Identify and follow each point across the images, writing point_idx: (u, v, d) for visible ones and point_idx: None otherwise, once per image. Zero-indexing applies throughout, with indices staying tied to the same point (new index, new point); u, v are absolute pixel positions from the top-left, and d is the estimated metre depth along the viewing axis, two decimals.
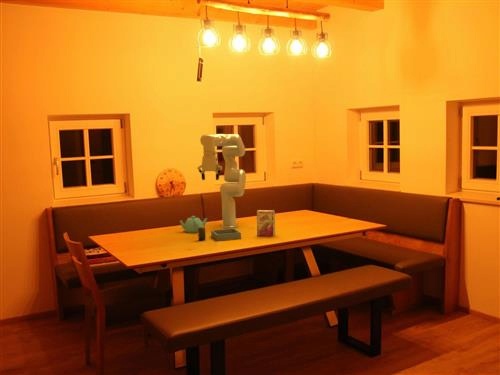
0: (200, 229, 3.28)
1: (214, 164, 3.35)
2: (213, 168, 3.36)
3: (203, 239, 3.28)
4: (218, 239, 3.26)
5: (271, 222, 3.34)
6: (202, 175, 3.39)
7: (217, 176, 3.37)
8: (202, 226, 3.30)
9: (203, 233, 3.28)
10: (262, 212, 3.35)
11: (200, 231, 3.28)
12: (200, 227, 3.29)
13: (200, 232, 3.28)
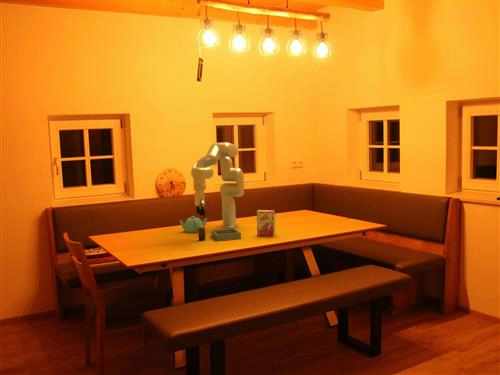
0: (200, 229, 3.28)
1: None
2: None
3: (203, 239, 3.28)
4: (218, 239, 3.26)
5: (271, 222, 3.34)
6: (204, 210, 3.24)
7: None
8: (202, 226, 3.30)
9: (203, 233, 3.28)
10: (262, 212, 3.35)
11: (200, 231, 3.28)
12: (200, 227, 3.29)
13: (200, 232, 3.28)
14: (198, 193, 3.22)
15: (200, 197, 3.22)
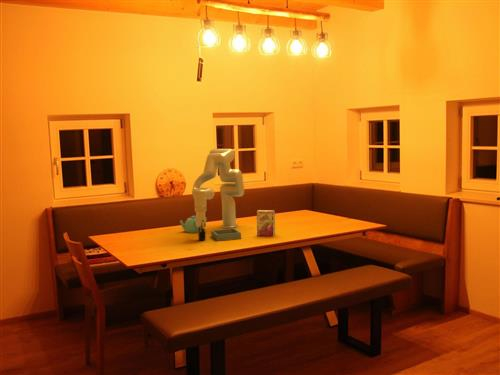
0: None
1: None
2: None
3: (203, 239, 3.28)
4: (218, 239, 3.26)
5: (271, 222, 3.34)
6: (204, 232, 3.28)
7: None
8: None
9: None
10: (262, 212, 3.35)
11: None
12: None
13: None
14: (199, 215, 3.24)
15: (201, 219, 3.24)
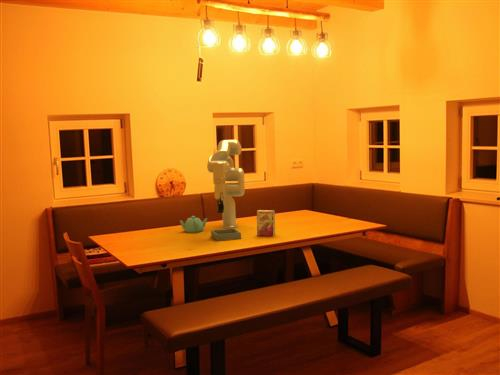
0: None
1: None
2: None
3: (222, 211, 3.31)
4: (218, 239, 3.26)
5: (271, 222, 3.34)
6: (223, 205, 3.31)
7: None
8: None
9: None
10: (262, 212, 3.35)
11: None
12: None
13: None
14: (218, 187, 3.27)
15: (220, 191, 3.27)
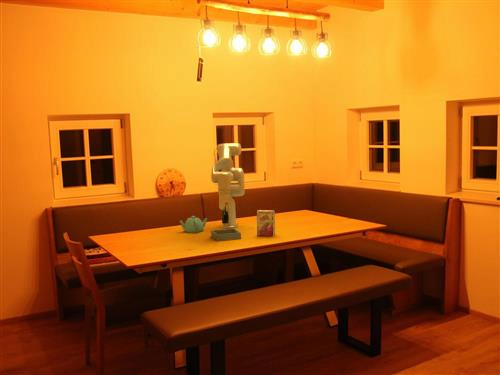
0: (223, 212, 3.32)
1: None
2: None
3: (226, 222, 3.33)
4: (218, 239, 3.26)
5: (271, 222, 3.34)
6: (228, 215, 3.32)
7: None
8: (225, 209, 3.34)
9: None
10: (262, 212, 3.35)
11: (223, 214, 3.32)
12: (223, 210, 3.33)
13: (223, 215, 3.32)
14: (223, 197, 3.28)
15: (225, 201, 3.28)
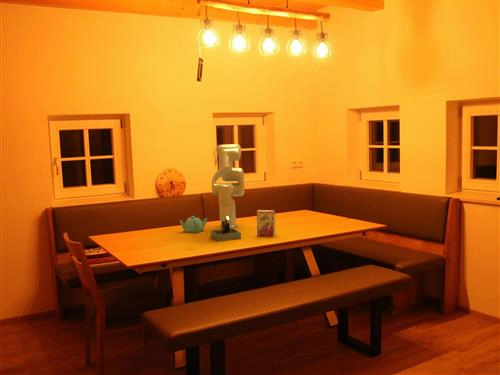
0: (224, 225, 3.33)
1: None
2: None
3: None
4: (218, 239, 3.26)
5: (271, 222, 3.34)
6: (229, 226, 3.31)
7: None
8: None
9: None
10: (262, 212, 3.35)
11: (224, 227, 3.33)
12: (224, 223, 3.34)
13: (224, 228, 3.33)
14: (223, 209, 3.29)
15: (225, 213, 3.29)
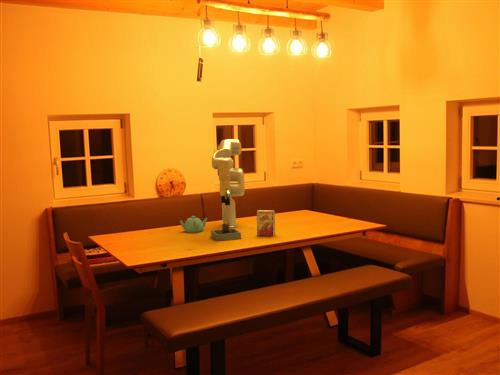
0: (224, 225, 3.33)
1: None
2: None
3: None
4: (218, 239, 3.26)
5: (271, 222, 3.34)
6: (229, 200, 3.32)
7: (224, 199, 3.41)
8: (226, 222, 3.35)
9: (227, 229, 3.34)
10: (262, 212, 3.35)
11: (224, 227, 3.33)
12: (224, 223, 3.34)
13: (224, 228, 3.33)
14: (223, 183, 3.30)
15: (225, 187, 3.30)
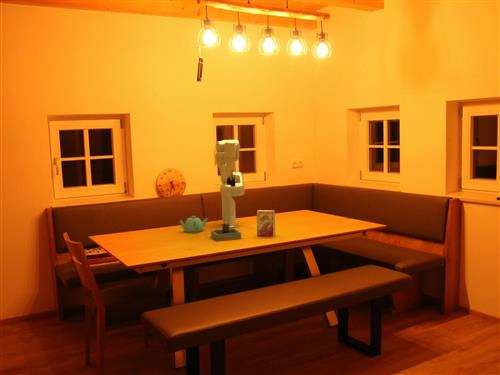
0: (224, 225, 3.33)
1: None
2: None
3: None
4: (218, 239, 3.26)
5: (271, 222, 3.34)
6: (235, 181, 3.42)
7: None
8: (226, 222, 3.35)
9: (227, 229, 3.34)
10: (262, 212, 3.35)
11: (224, 227, 3.33)
12: (224, 223, 3.34)
13: (224, 228, 3.33)
14: (229, 165, 3.40)
15: (231, 169, 3.40)
